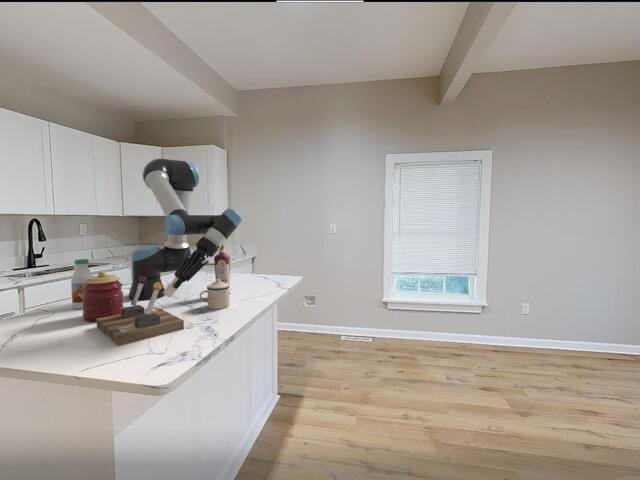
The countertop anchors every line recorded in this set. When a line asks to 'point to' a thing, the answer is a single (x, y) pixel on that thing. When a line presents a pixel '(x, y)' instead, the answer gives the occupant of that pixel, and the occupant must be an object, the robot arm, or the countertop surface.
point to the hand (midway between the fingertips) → (166, 294)
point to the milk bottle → (79, 282)
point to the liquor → (222, 265)
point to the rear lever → (138, 289)
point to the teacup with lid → (217, 295)
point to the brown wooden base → (138, 324)
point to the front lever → (154, 296)
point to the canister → (102, 297)
